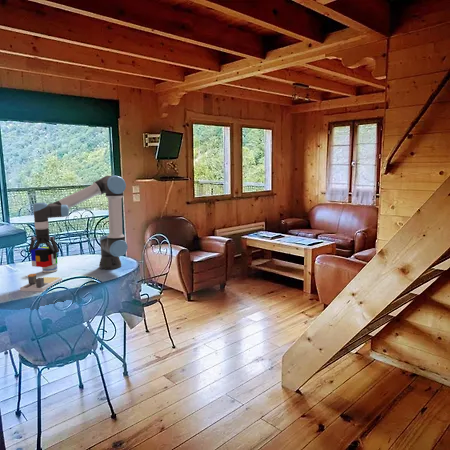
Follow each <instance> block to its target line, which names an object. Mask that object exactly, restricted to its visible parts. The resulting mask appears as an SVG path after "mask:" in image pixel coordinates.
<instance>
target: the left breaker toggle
mask: <svg viewBox="0 0 450 450" xmlns="http://www.w3.org/2000/svg"><path fill="white" fill-rule="evenodd" d="M42 286H44V278H43V277H42V278H41V277H36V287H42Z"/></svg>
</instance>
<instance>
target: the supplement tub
mask: <svg viewBox="0 0 450 450" xmlns="http://www.w3.org/2000/svg"><path fill="white" fill-rule="evenodd" d="M41 268H42V269H41V271H42V272H43V273H54V272H56V271H58V263H57V264H54V265H51V266H48V267H41Z"/></svg>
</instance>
